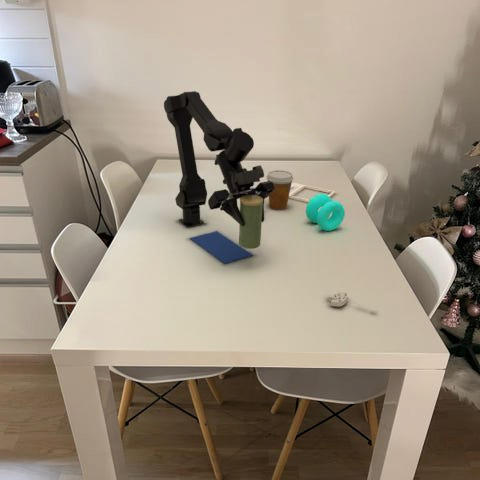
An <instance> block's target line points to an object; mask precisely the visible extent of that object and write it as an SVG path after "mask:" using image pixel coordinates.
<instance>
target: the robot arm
mask: <svg viewBox="0 0 480 480" xmlns="http://www.w3.org/2000/svg"><path fill="white" fill-rule="evenodd" d="M163 109H164V112H165V113H166V117H167V120H168V122H169V123H170V124H171V126H172V127H173V128H174V134H175V138H176V139H175V140H176V144H177V151H178V157H179V164H180V169H181V175H182V176H181V179H180V182H179V184H178V188H179V189H178V190H179V191H178V193H177V195H176V197H175V204H176V206H177V207H178V208H180V209H181V211H182V212H181V213H182V218H180V219H178V222H179V223H181V225H183V226H185V227H186V228H191V227H196V226H201V225H204V224H205V221H204V220H202V219H201V206H206V202H207V205H208V207H209V210H211V211H212V210H217V209H219V210H220V211H221V212H222V211H223V212H225V214H227V215H229V216H230V217H231V218H232V219H233V220H234V221H235V222H236V223H237V224H240V225H241V226H242V227H243V226H244V225H245V224H244V220H243V218H242V215H241V213H240V207H239V206H238V200H240V198H241V197H242V196H246V195H256V196H259V197H261V198H263V206H262V223H264V221H265V199H267V198H269V195H270V194H271V193H272V192H273V191H274V190H275V189H276V188H275V186H274V183H273V182H271V181H268V180H267V181H261V179H262V178H264V177H265V172H264V169H263V167H262V165H261V164H260V165H255V166H253V167H252V169H251V170H248V169H247V168H246V167H243V165H242V162H243V161H244V160H245V159H246V157H247V156H248V155H249V154H250V152H251V151H252V150H253V149H254V146H255V141H254V139H253V137H252V136H251V135H250V134H249V133H247V132H245V131H243V129H242V127H237V128H236V127H235V128H234V129H233V130H232V128H231V127H230V126H228V124H227V123H225V122H223V121H221V120H219V119H217V118H216V116H215V115H214V113H212V111H211V109H210V108H209V107H208V106H207V105H206V103H205V102H204V100H203V99H202V98H201V94H200V92H198V91H196V90H194V91H193V90H192V91H184V92H182V93H179V94H177V95H167V97H166V99H165V100H164V102H163ZM193 120H194V122H196V124H197V125H198V127H199V128H200V130H201V131H202V133H203V138H202V139H203V142H204V144H205V146H206V148H207V149H208V151H209V152H212V153H213V152H219V153H218V154H216V155H215V160H214V165H215V166H218V167H219V169H220V171H221V175H222V177H223V180H222V184H223V185H226V187H227V189H228V190H227V189H226V188H225V189H224V188H223V189H220V190H215V191H213V192H212V194H211V196H210V197H208V190H207V186H206V180H205V179H204V178H202V177H201V176H200V174H199V173H198V168H197V161H196V160H197V159H196V154H195V148H194V143H193V142H194V141H193V135H192V129H191V124H192V121H193ZM255 183H258V184H257V185H256V188H253V189H251V188H252V187H254V185H255ZM207 197H208V200H207Z"/></svg>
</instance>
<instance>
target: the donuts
mask: <svg viewBox="0 0 480 480" xmlns="http://www.w3.org/2000/svg"><path fill="white" fill-rule="evenodd" d="M328 195H329V194H325V193H318V194H315V195H314V196H312V197H311V198H310V199H309V200H310V201H309V202H307V204H306V207H305V215H306V217H307V219H308V220H309V221H310V222H311V223H314V224H317V225H318V227H319V228H320V229H321V230H323V231H326V232H331V231H334V230H335V229H337V228H338V227H340V225H341V224H342V223H343V221H344V219H345V214H346V213H345V211H346V210H345V207H344V205H343V203H341V202H340V201H338V200H332V198H331V197H329V196H328Z"/></svg>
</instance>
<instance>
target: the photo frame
mask: <svg viewBox="0 0 480 480" xmlns="http://www.w3.org/2000/svg"><path fill="white" fill-rule="evenodd" d="M303 189H307V190H312V191H318V192H323V193H327V195H328V196H329V197H330V198H331V197H332V196H334V195H335V194H336V191H335V190H330V189H327V188H322V187H321V188H320V187H316V186H312V185H307V184H302V183H297V182H292V183H291V188H290V193H289V198H288V199H290V200H294V201H300V202H304V203H308V202H309V201H310V199H308V198H303V197H300V196H295V195H296V194H298V193H299V192H300V191H302V190H303Z"/></svg>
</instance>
